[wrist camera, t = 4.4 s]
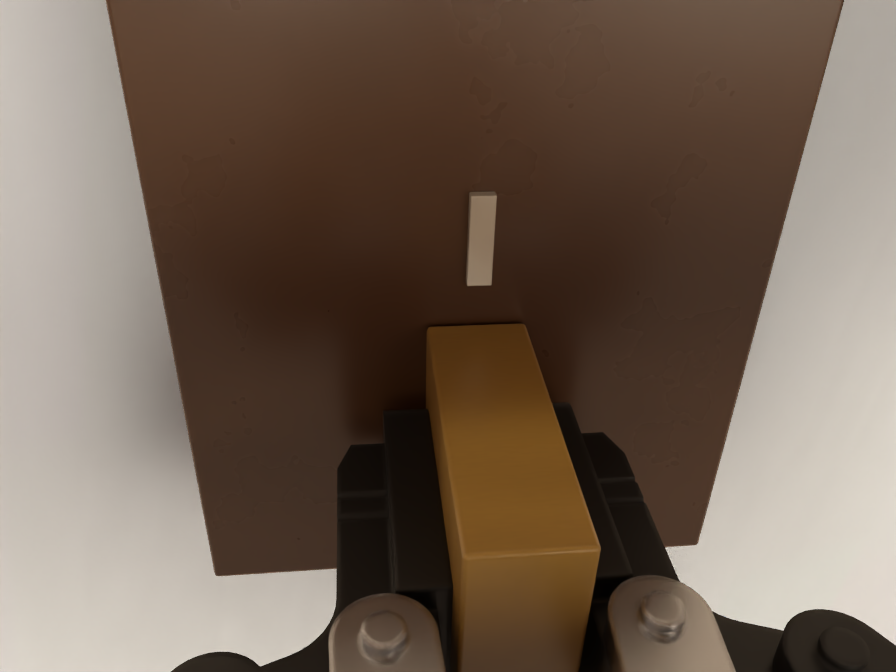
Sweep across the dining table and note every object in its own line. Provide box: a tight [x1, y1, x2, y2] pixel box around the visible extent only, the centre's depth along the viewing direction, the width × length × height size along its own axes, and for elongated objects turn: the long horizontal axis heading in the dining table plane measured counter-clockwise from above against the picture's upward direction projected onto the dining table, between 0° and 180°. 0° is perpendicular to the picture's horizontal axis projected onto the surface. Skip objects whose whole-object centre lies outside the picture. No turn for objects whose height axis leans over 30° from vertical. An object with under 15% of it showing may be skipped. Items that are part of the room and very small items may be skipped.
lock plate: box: [106, 0, 844, 576], centre depth 14 cm, size 13×9×3 cm
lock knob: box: [426, 323, 601, 672], centre depth 12 cm, size 4×2×5 cm, turn 179°
